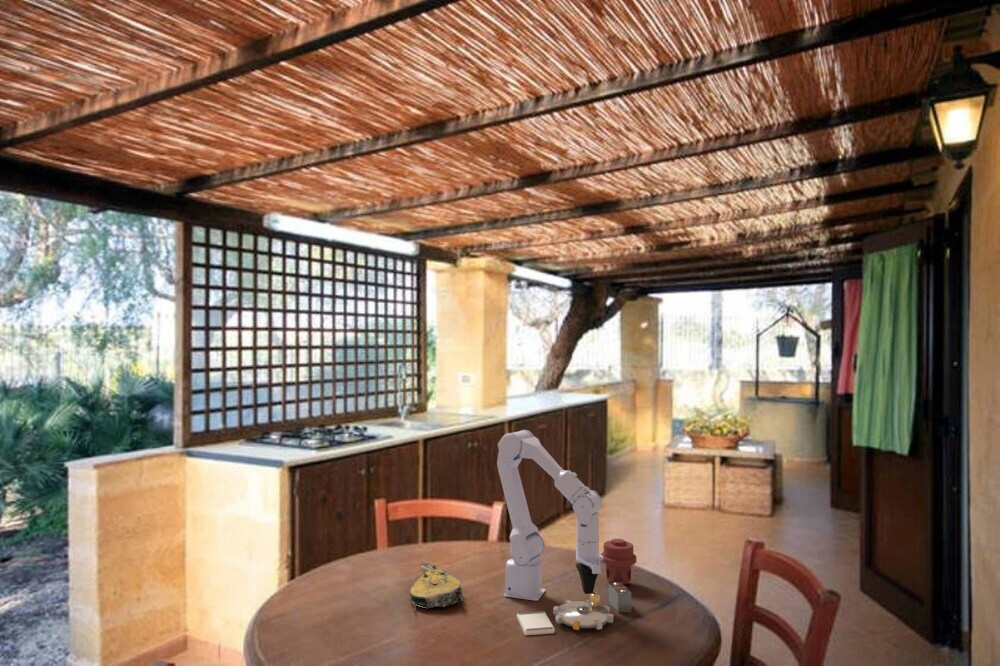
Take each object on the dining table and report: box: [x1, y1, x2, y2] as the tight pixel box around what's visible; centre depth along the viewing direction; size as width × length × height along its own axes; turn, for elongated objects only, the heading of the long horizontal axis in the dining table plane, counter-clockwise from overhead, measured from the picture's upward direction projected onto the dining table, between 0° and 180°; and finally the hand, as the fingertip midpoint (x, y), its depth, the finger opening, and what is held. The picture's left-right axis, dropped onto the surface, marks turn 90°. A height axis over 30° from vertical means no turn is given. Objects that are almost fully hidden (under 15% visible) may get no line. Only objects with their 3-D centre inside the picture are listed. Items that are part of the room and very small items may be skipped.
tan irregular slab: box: [409, 562, 465, 611], centre depth 173 cm, size 14×6×30 cm
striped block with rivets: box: [608, 582, 632, 613], centre depth 163 cm, size 7×4×5 cm, turn 10°
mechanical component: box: [600, 538, 637, 586], centre depth 179 cm, size 12×10×10 cm
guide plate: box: [516, 610, 556, 636], centre depth 152 cm, size 10×7×1 cm
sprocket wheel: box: [552, 591, 614, 631], centre depth 154 cm, size 15×15×4 cm
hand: (588, 592), depth 162 cm, fingers closed
